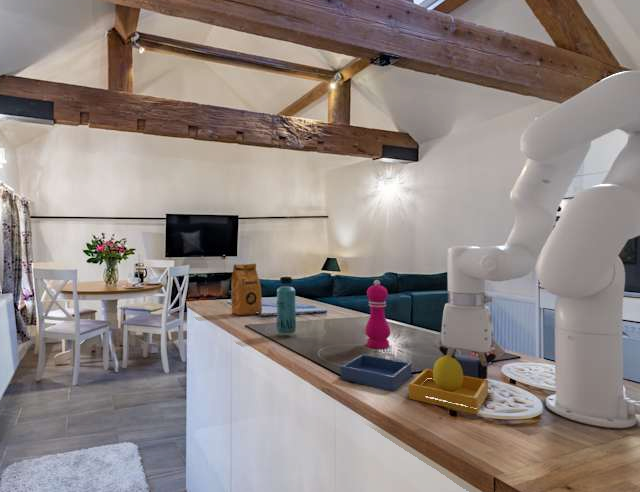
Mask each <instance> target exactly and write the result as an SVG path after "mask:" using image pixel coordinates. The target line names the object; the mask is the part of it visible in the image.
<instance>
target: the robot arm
mask: <svg viewBox="0 0 640 492" xmlns="http://www.w3.org/2000/svg"><path fill="white" fill-rule="evenodd" d="M616 130H620V131H621V132H623V133H624V134H626V135H627V141H626V144H625V145H624V147H623V148H622V149H621V150H620V152H619V153H618V154H617V156H616V158H615V159H614V161H613V162H612V165H611V167H610V169H609V171H608V173H607V174H606V175H605V176H604V178H603V180H602V182H601V184H597V185H593V186H589V187H587V188H585V189H583V190H581V191H580V192H578V193H577V194H576V195H575V196H573V198H572V199H571V200H570V201H569V202H568V203H567V204H566V206H565V207H564V209H563V211H562V213H561V214H560V216H559V218H558V220H557V215H558V210H559V207H560V206H561V203H562V202H563V199H564V197H565V196H566V194H567V192H568V190H569V188H570V186H571V184H572V183H573V181H574V179H575V177H576V176H577V173H578V172H579V170H580V168H581V166H582V165H583V163H584V161H585V159H586V157H587V155H588V153H589V151H590V148H591V145H592V142H593V141H595V140H597V139H599V138H601V137H604V136H605V135H608V134H610V133H611V132H614V131H616ZM519 149H520V151H521V153H522V154H523V155H524V156H525V157H526V161H525V163H524V165H523V167H522V168H521V171H520V173H519V175H518V177H517V179H516V181H515V183H514V185H513V187H512V189H511V191H510V194H509V197H510V202H511V205H512V207H513V210H514V217H515V218H514V223H513V225H512V228H511V231H510V234H509V235H508V238H507V239H506V241H505V243H504V244H501V245H491V246H483V247H480V246H477V245H476V246H475V245H474V246H472V245H458V246H457V245H455V246H451V247H450V248H448V249H447V252H446V253H447V254H446V265H447V266H446V268H447V269H446V271H447V272H446V273H447V303H445V304H444V308H443V312H442V313H443V314H442V319H441V331H440V332H439V334H438V335H437V336H436V337H435V338H434V339H433V340H432V341H431V344H432V345H433V346H434V347H436V349H438V350H439V351H440V353H441V354H443V357H445V356H446V355H449V356H450V357H451V358H454V357H455V356H456V355H455V354H456V351H457V350H461V351H463V350H464V351H469V352H470V351H475V352H477V354H478V356H479V359H480V364H479V366H478V376H479V379H484V380H488V365H490V364H489V363H490V362H491V363H492V362H493V361H494V360H496V359H497V358H500V357H501V356H503V355H504V354H505V353H506V350H505V349H504V348H503V347H502V345H501V344H500V343H499V341H498V340H496V338H495V337H494V332H493V328H494V326H493V317H492V313H491V308H490V306H488V305H486V304H489V303H493V301H494V299H493V296H489V295H488V294H487V293H486V282H485V281H491V282H505V281H506V282H507V281H510V280H517V279H521V278H524V277H526V276H528V275H529V274H531V272H533V270H534V269H535V275H536V278H537V281H538V282H539V284H540V285H541V287H542V288H543V289H544V290H545V291H547V292H548V293H550V294H552V295H554V296H555V303H554V365H555V366H554V367H555V368H554V373H555V374H554V375H555V377H554V378H555V393H554V394H550V395H549V396H547V397H546V398H545V406H546V407H547V408H548V409H549V410H550V411H552V412H553V413H555V414H557V415H558V416H561V417H563V418H566V419H567V420H570V421H575V422H579V423H582V424H585V425H589V426H594V427H601V428H608V429H609V428H610V429H611V428H612V429H627V428H630V427H634V426H635V425H636V423H637V417H636V415H640V400H634V399H631V397H627V394H626V391H625V390H624V361H623V359H624V358H623V356H624V355H623V354H624V351H623V350H624V349H623V332H624V331H623V310H624V309H623V308H624V307H623V306H624V295H625V286H626V270H625V266H624V263H623V260H622V259H621V257H620V256H619V255H620V254H621V252H622V250H623V249H624V247H625V245H627V242H628V241H629V240H631V239H634V238H637V237H639V236H640V70H626V71H621V72H618V73H615V74H612V75H610V76H608V77H605V78H603V79H601V80H600V81H598V82H596V83H594V84H592V85H591V86H589V87H588V88H586V89H584V90H582V91H581V92H578V93H577V94H576V95H574V96H572V97H570V98H569V99H567V100H565V101H563V102H561V103H560V104H558V105H556V106H555V107H553V108H551V109H550V110H548V111H546V112H545V113H542V114H541V115H540V116H538V117H537V118H535V119H534V120H533V121H531V122H530V123H529V124H528V125H527V127H526V128H525V129H524V130H523V131H522V132H521V135H520V139H519ZM556 220H557V222H556ZM555 223H556V224H555ZM491 348H492V349H494V351H492V353H491V354H489V355H488V356H487V353H486V352H489V351H490V350H491Z"/></svg>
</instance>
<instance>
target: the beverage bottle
mask: <svg viewBox="0 0 640 492" xmlns="http://www.w3.org/2000/svg"><path fill="white" fill-rule="evenodd" d="M279 283H280V284H282V286H279V287H278V288H277V289H276V331H277V333H279V334H288V335H289V334H294V333H296V329H297V325H296V323H297V321H296V320H297V315H296V314H297V312H296V311H297V310H296V289H295V288H294V287H293V286H289V284H293V278H292V276H281V277H280V278H279ZM287 284H288V286H287ZM285 285H286V286H285Z"/></svg>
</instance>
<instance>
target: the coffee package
mask: <svg viewBox="0 0 640 492" xmlns="http://www.w3.org/2000/svg"><path fill="white" fill-rule="evenodd" d="M256 268H257V263H247V264H237V263H235V264H233V267H232V275H231V282H230V283H231V285H230V286H231V287H230V288H231V296H230V297H231V298H230V299H231V314H233V315H237V316H253V315H254V316H255V315H261V314H262V311H263V305H262V304H263V303H262V299H263V298H262V288H261V286H262V285H261V282H260V278H259V275H258V273H257V272H258V271H257V269H256ZM256 312H259V313H256Z"/></svg>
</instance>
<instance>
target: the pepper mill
mask: <svg viewBox="0 0 640 492" xmlns="http://www.w3.org/2000/svg"><path fill="white" fill-rule="evenodd" d="M366 296H367V299H368V306H369V308H370V315H369V318H368V320H367V322H366V325H365V329H364V333H365V335H366V336H367V337H368V338H367V339H366V344H367V347H369V348H373V349H379V350H381V349H387V348H389V347H390V341H389V339H388V338H389V337H390V336H391V328H390V325H389V323H388V321H387V318H386V315H385V307H387V301H386V299H387V298H388V289H387V288H386V287H384V286H383V285H381V282H380V280H379V279H375V280H374V281H373V285H371V286H369V287H368V288H367V290H366Z"/></svg>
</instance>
